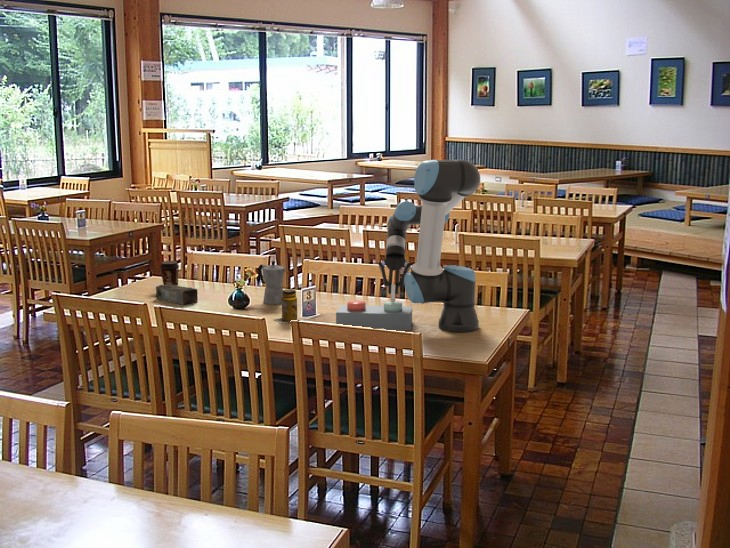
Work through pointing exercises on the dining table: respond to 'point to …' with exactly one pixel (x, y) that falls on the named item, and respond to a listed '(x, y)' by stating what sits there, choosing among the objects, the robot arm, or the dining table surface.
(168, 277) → the coffee cup
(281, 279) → the coffeepot
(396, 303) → the teal button
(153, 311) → the dining table surface
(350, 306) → the red button
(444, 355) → the dining table surface
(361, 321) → the control box
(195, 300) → the dark grey brick
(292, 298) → the condiment
